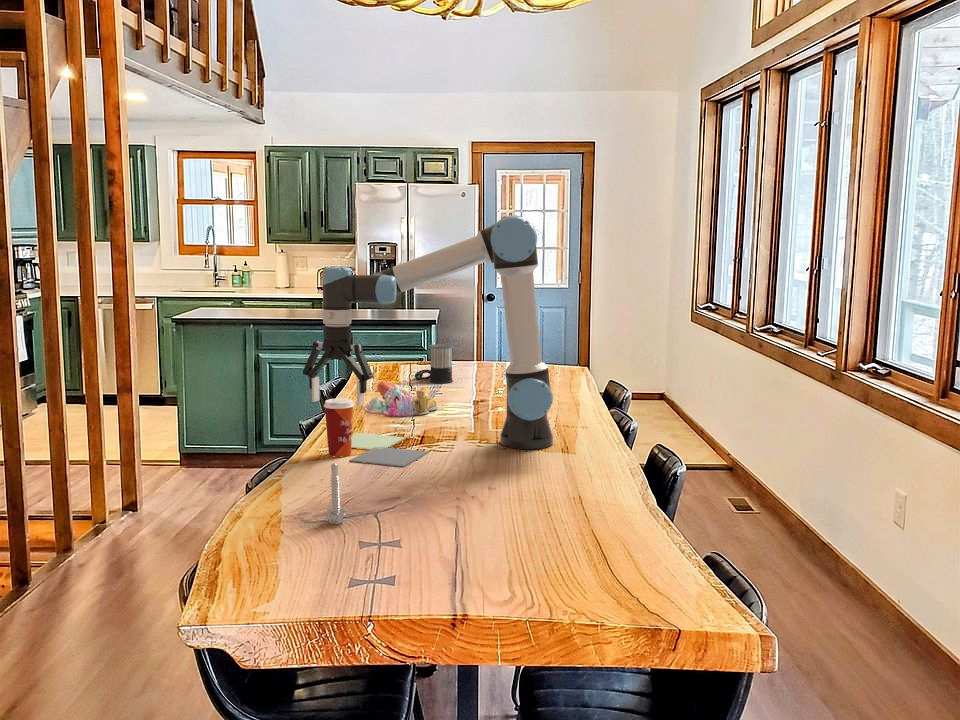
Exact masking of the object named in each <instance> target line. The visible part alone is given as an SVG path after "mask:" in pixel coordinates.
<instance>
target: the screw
mask: <svg viewBox="0 0 960 720" xmlns="http://www.w3.org/2000/svg"><path fill="white" fill-rule="evenodd" d="M338 465H339V464H337V463H335V462H333V463H332V464H331V466H330V467H331V474H330V479H331V480H330V484H329V485H330V487H331V488H330V490H331V491H330V492H331V493H330V495H331V497H330V498H331V499H330V501H331V502H330V503H331V504H330V506H331V507H330V509H327V510H326V511H324V512H323V516H324V517H325V518H326V519H327V518H328V519H329V523H330V525H336V526H337V525H341V524H343V518H344V517H346V516H348V511H346V510H345V509H343V508H341V503H340V496H341V495H340V493H341V492H340V484H339V483H340V478H339V477H340V476H339V467H338Z"/></svg>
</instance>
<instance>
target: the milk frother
mask: <svg viewBox="0 0 960 720" xmlns="http://www.w3.org/2000/svg"><path fill="white" fill-rule="evenodd" d="M429 348H430V350H429V351H430V369H422V370H419V371H417V372H415V374H414V378H415V379H417V380H420V381H427V380H429V379H430V380H429V382H430V383H432V384H451V383H453V367H452V365H453V364H452V363H453V351H452V350H453V349H452V348H453V345H452V344H449V343H447V344H446V343H434V344H430V345H429ZM424 374H429V375H428V376H424Z"/></svg>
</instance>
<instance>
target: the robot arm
mask: <svg viewBox="0 0 960 720" xmlns="http://www.w3.org/2000/svg"><path fill="white" fill-rule="evenodd" d="M537 242H538V235H537V231H536V228H535V227H534V225H533V223H531V222H530V220H528V219H527V218H525V217H523V216H520V215H508V216H504V217H502V218H501V219H499V220H497V222H495V223H494V224H492V225H491V226H488V227H485V228H483V229H480V230H479V231H478V232H477V234H476V236H472V237H469V238H467V239H464V240H461V241H460V242H458V243H457V242H456V243H454V244H451V245H448V246H446V247H443V248H440V249H437V250H434V251H432V252H429V253H427V254H424V255H421V256H419V257H416V258H413V259H410V260H408V261H405V262H403V263H400V264H397V265H395V266H392V267H389V268H386V269H384V270H381V271H377V272H374V273H373V274H361V275H360V274H358V275H357V274H353V272H352V268H350V267H349V266H348V267H347V266H328V267H325V268H324V269H323V271H322V272H323V273H322V283H321V286H322V320H323V321H322V323H323V324H324V325H323V327H322V338H323V342H322V341H321V340H318V341H314V342H313V343H312V346H311V352H310V353H309V356H308V359H307V361H306V363H305V366H304V367H303V370H302V375H304V376H305V375H306V376H307V377H308V378H309V379H308V380H309V382H308V383H309V385H308V386H309V389H310V390H311V401H312V403H313V402H314V403H316V402H318V401H320V399H321V398H320V376H318V374H319V373H320V372H321V370H322V369H323V368H324V366H325V365H326V364H327V363H328V362H329V360H338V361H344V362H345V363H346V364H347V365H348V367H349V368H350V370H351V371H352V372H353V374H354V375H355V376H356V378H357V379H358V381H356V406H357V407H360V406H362V405H365V404H364V403H365V394H366V393H367V391H368V390H367V387H368V386H367V385H368V383H367V382H368V381H369V380H372V379H373V378H374V374H373V372H372V370H371V367H370V364H369V363H368V361H367V359H366V355H365V353H364V352H363V351H364V349H363V348H364V347H363V344H362V343H357V344H352V326H351V324H352V304H380V305H385V304H386V305H387V304H394V303H395V302H396V301H397V295H398V294H402V293H403V292H407V291H410V290H411V289H415V288H418V287H420V286H422V285H426V284H428V283H431V282H434V281H437V280H440V279H442V278H445V277H449V276H450V275H454V274H456V273H459V272H462V271H464V270H468V269H470V268H472V267H475V266H478V265H481V264H483V263H489V264H493V268H494V271H496V273H497V274H499V275H500V280H501V289H502V290H501V291H502V299H503V300H502V301H503V308H504V309H503V310H504V319H505V329H506V337H507V348H508V355H509V365H508V366H507V367H506V369H505V371H504V372H505V381H506V416H505V421H504V424H503V427H502V430H501V433H500V436H499V442H500V445H501V446H504V447H507V448H510V449H516V450H517V449H518V450H538V449H545V448H548V447H551V446H552V445H553V444H554V443H553V442H554V439H553V438H554V436H553V433H552V429H551V425H550V422H549V419H548V412H549V410H550V409H551V407H552V404H553V401H554V399H553V398H554V396H553V395H554V394H553V392H552V389H551V381H550V375H549V374H550V373H549V372H550V371H549V366H548V364H547V363H545V362H544V361H543V360H542V359H543V358H542V349H541V337H540V329H539V318H538V308H537V307H538V306H537V299H536V288H535V279H534V277H535V276H534V271H535V269H536V268H537V267H538V265H539V261H538V249H537ZM322 349H323V351H324V353H323V354H322V356H321V357H320V359H319V360H318V362H317V359H318V357H319V355H320V353H321V350H322ZM351 352H353V353H354V355H355V357H356V360H357V361H356V360H355V358H354V356H353V354H352V353H351ZM316 362H317V363H316ZM357 362H358V363H357Z"/></svg>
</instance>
